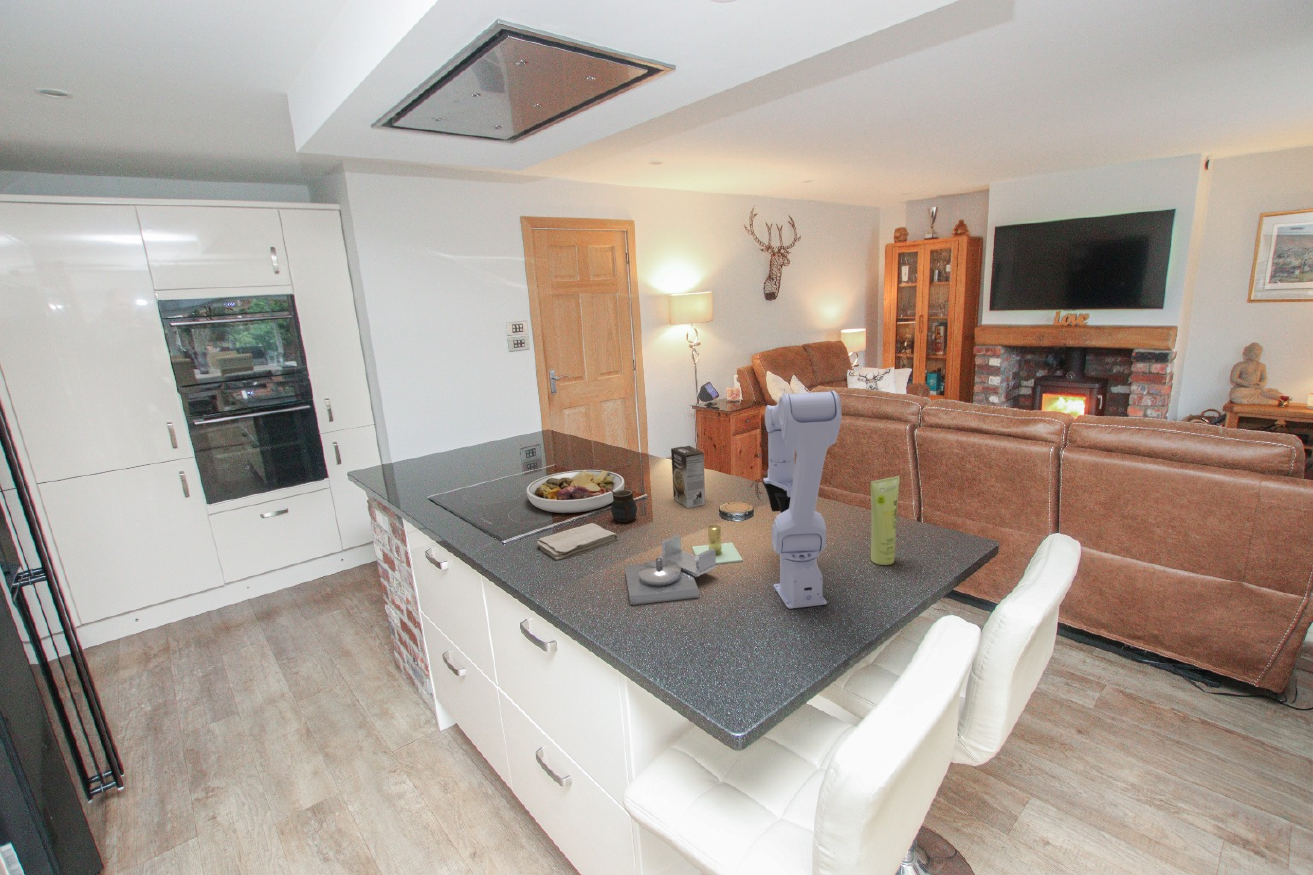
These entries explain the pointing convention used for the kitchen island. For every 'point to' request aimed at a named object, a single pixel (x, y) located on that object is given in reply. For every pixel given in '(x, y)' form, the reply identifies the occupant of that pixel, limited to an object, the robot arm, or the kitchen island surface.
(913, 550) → the kitchen island surface
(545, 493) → the bowl
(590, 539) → the washcloth
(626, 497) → the mate gourd
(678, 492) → the coffee box
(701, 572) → the grey disc and bracket
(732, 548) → the pad
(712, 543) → the olive glass cylinder
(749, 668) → the kitchen island surface
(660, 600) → the base
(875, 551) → the tube
